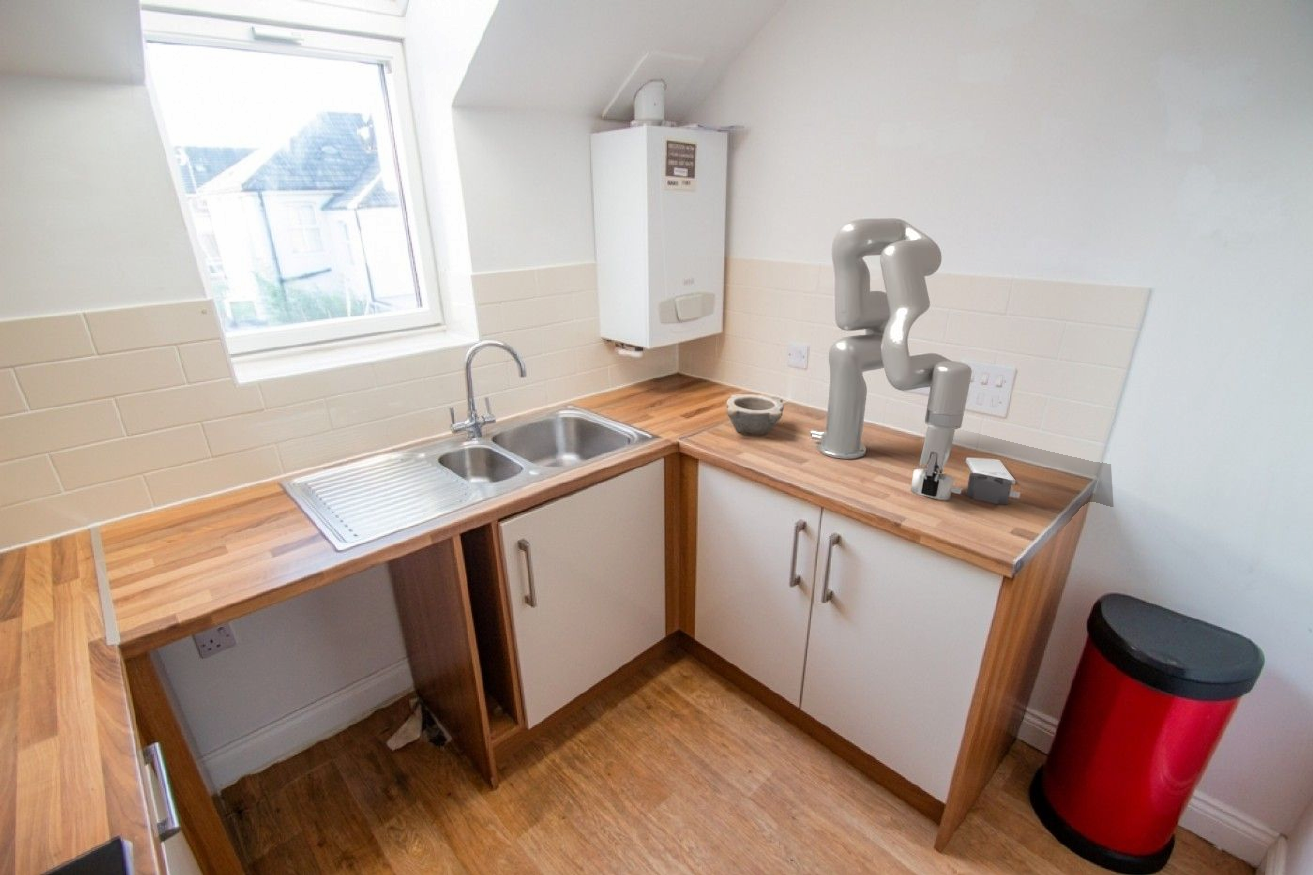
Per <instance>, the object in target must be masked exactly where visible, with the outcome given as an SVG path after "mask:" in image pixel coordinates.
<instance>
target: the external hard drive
mask: <svg viewBox="0 0 1313 875" xmlns="http://www.w3.org/2000/svg"><path fill="white" fill-rule="evenodd" d="M965 463H966V464H967V466H968V467H969V469H970V471H971V472H972V473H980V474H985V475H990V476H994V477H999V478H1004V479H1008V480H1010V481H1011V482H1012V485H1016V479H1015V478H1014V477H1013V476H1012V474H1011V472H1010V471H1009V470H1008V469H1007V468H1006V465H1004V463H1003V462H1002V461H1001V460H1000V459H995V458H980V457H966V458H965Z"/></svg>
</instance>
